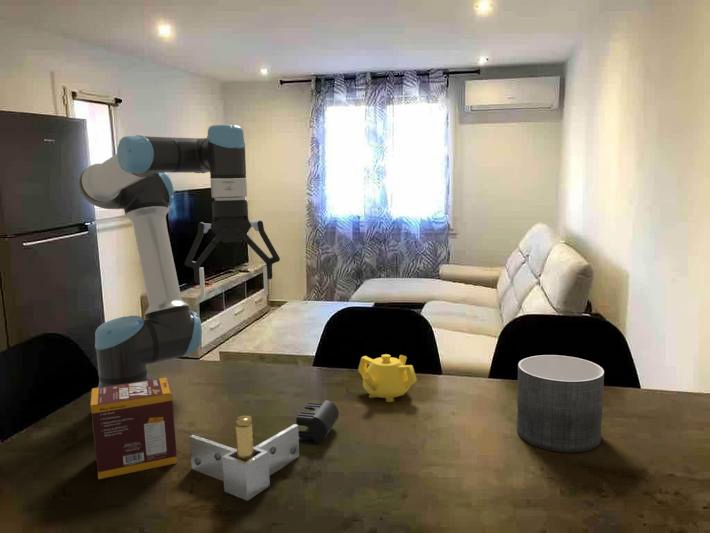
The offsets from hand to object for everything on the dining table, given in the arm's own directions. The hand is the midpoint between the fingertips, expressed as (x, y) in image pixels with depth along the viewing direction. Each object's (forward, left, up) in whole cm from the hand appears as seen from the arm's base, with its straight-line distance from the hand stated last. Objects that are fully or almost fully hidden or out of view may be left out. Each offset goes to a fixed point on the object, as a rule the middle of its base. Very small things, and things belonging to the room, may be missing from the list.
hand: (235, 296), depth 124 cm
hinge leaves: (+11, -10, -33) cm, 36 cm away
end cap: (+15, +9, -33) cm, 37 cm away
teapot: (+16, +38, -33) cm, 53 cm away
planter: (+61, +37, -33) cm, 79 cm away
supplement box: (-11, -20, -33) cm, 40 cm away
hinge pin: (+17, -16, -33) cm, 40 cm away
